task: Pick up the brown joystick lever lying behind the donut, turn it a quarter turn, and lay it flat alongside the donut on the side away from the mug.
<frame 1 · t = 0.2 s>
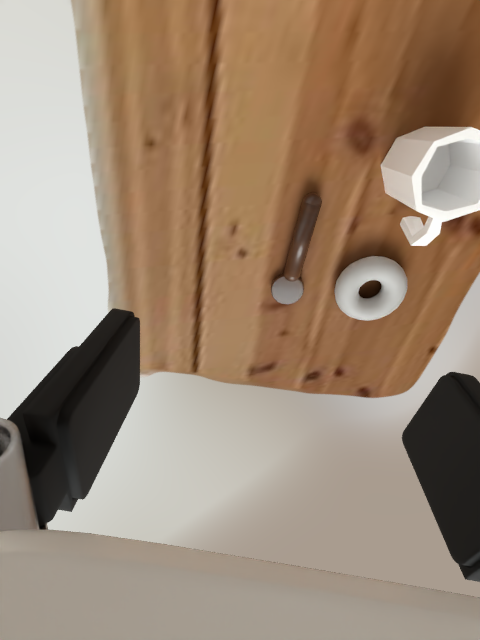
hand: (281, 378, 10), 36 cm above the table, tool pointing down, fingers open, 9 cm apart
brown joystick lever: (295, 257, 45), on the table
donut: (366, 284, 47), on the table
mug: (412, 182, 39), on the table
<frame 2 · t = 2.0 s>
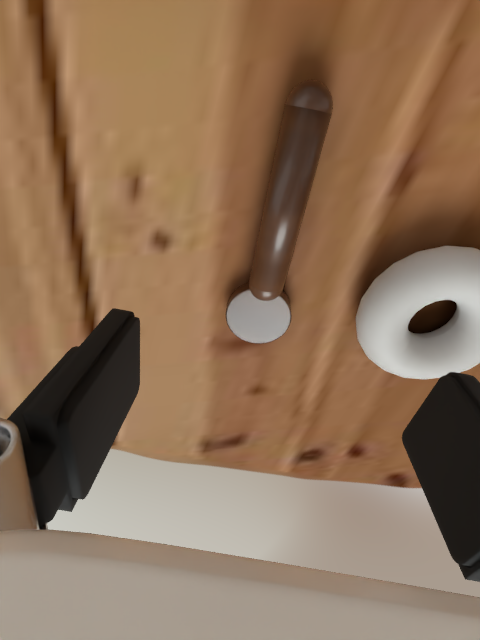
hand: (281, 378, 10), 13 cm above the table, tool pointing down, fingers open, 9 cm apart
brown joystick lever: (272, 249, 21), on the table
donut: (421, 304, 23), on the table
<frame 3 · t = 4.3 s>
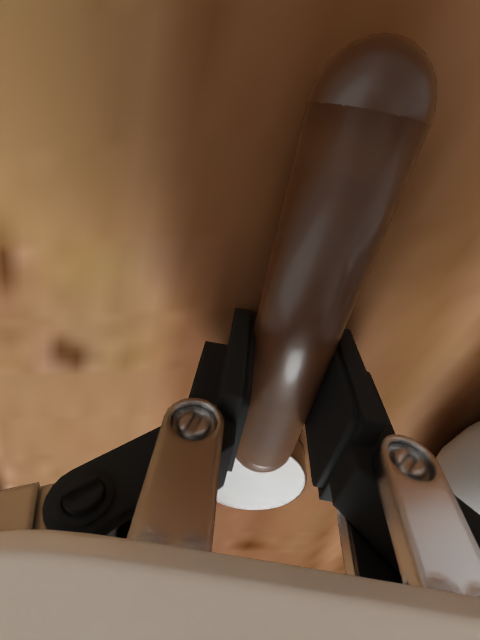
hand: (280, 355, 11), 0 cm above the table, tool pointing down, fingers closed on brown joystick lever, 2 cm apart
brown joystick lever: (273, 374, 11), on the table, touching gripper
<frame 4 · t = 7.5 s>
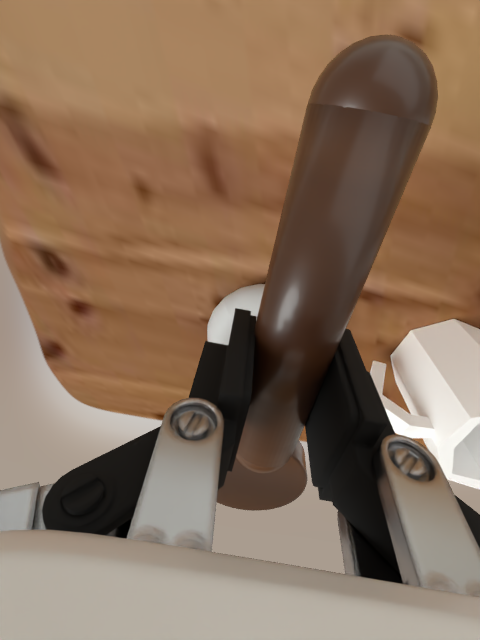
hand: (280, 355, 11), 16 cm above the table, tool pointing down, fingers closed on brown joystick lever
brown joystick lever: (274, 374, 11), point 15 cm above the table, touching gripper
donut: (264, 326, 29), on the table
mug: (414, 356, 29), on the table
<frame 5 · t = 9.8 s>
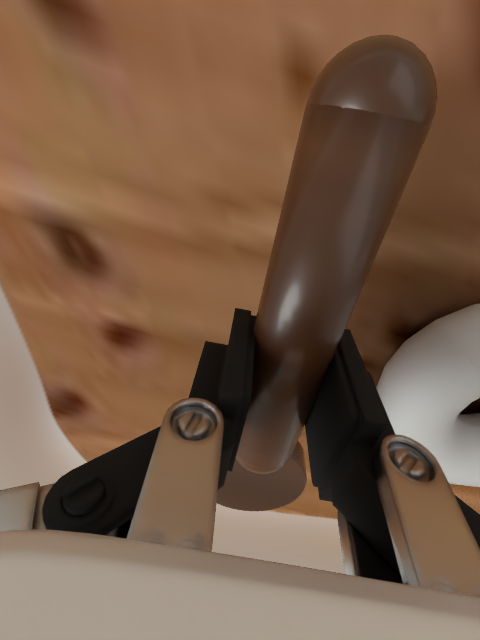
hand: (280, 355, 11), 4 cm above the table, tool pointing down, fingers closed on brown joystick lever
brown joystick lever: (273, 375, 11), point 4 cm above the table, touching gripper
donut: (470, 373, 15), on the table
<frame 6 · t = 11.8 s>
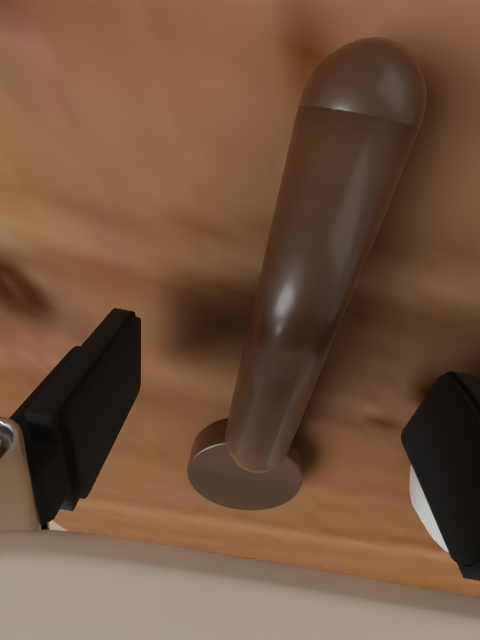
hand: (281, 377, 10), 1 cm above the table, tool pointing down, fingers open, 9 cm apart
brown joystick lever: (269, 374, 11), on the table
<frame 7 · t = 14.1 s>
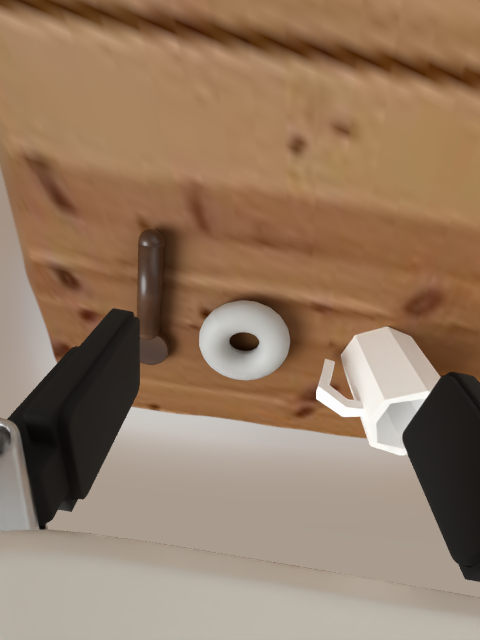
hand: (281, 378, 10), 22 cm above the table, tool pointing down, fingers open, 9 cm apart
brown joystick lever: (152, 308, 35), on the table
donut: (244, 332, 36), on the table
mug: (359, 355, 37), on the table
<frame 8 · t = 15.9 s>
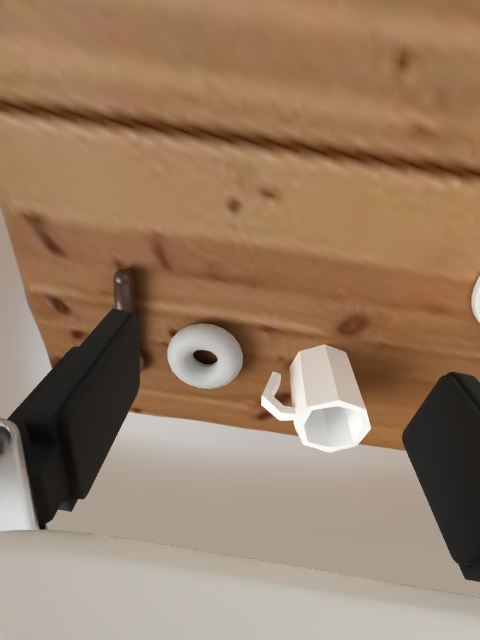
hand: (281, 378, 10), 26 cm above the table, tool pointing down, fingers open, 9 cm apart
brown joystick lever: (129, 329, 42), on the table
donut: (207, 348, 43), on the table
mug: (305, 368, 43), on the table
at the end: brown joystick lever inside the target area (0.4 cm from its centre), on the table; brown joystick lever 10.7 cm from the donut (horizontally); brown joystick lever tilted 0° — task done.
